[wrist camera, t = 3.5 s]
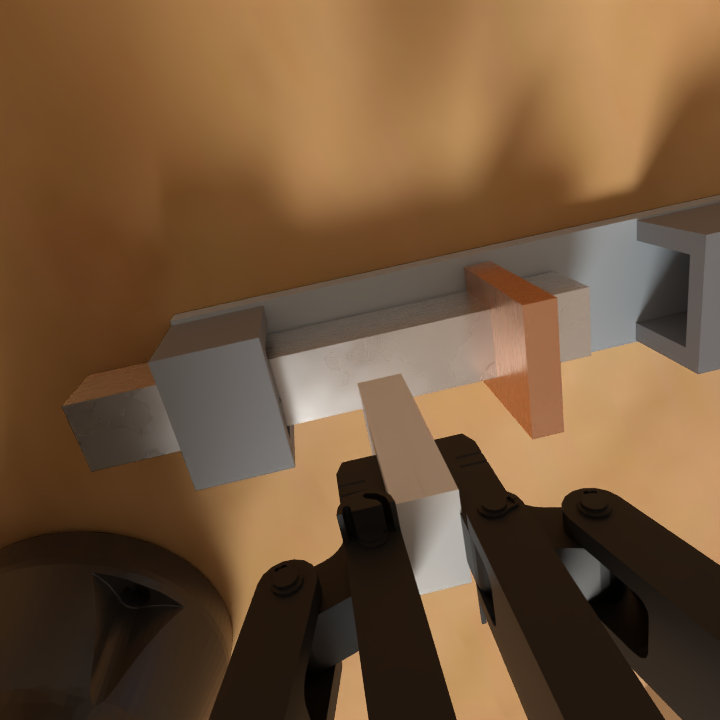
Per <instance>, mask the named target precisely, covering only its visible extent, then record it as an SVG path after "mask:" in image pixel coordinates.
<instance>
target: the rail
mask: <svg viewBox="0 0 720 720" xmlns="http://www.w3.org/2000/svg"><path fill="white" fill-rule="evenodd" d="M488 261H491V262H493V263H495V264H497V265H498V266H500V267H502V268H504V269H506V270H508V271H509V272H511V273H513V274H515V275H517V276H519V277H520V278H526V277H531V276H535V275H539V274H544V273H548V272H553V271H556V272H558V273H560V274H562V275H564V276H567V277H569V278H571V279H573V280H575V281H578V282H580V283H582V284H584V285H586V286H589V287H590V325H591V352H594V351H599V350H603V349H607V348H612V347H616V346H620V345H624V344H629V343H633V342H637V341H638V342H640V343H642V344H644V345H646V346H647V347H649V348H651V349H653V350H655V351H657V352H658V353H660V354H662V355H664V356H666V357H668V358H669V359H671V360H673V361H675V362H677V363H679V364H680V365H682V366H684V367H686V368H688V369H690V370H691V371H693V372H695V373H697V374H701V373H705V372H709V371H713V370H718V369H720V195H716V196H711V197H707V198H702V199H698V200H693V201H689V202H684V203H680V204H675V205H670V206H666V207H661V208H657V209H652V210H648V211H643V212H639V213H634V214H630V215H625V216H620V217H616V218H611V219H607V220H602V221H598V222H593V223H589V224H584V225H580V226H575V227H570V228H566V229H561V230H557V231H552V232H548V233H543V234H539V235H534V236H530V237H525V238H520V239H516V240H511V241H507V242H502V243H498V244H493V245H489V246H484V247H480V248H475V249H471V250H466V251H461V252H457V253H452V254H448V255H443V256H439V257H434V258H430V259H425V260H421V261H416V262H411V263H407V264H402V265H398V266H393V267H389V268H384V269H380V270H375V271H371V272H366V273H361V274H357V275H352V276H348V277H343V278H339V279H334V280H330V281H325V282H321V283H316V284H311V285H307V286H302V287H298V288H293V289H289V290H284V291H280V292H275V293H271V294H266V295H261V296H257V297H252V298H248V299H243V300H239V301H234V302H230V303H225V304H221V305H216V306H212V307H207V308H202V309H198V310H193V311H189V312H184V313H180V314H175V315H174V316H173V317H172V319H171V320H170V323H171V327H170V329H169V330H168V332H167V333H166V335H165V337H164V338H163V340H162V341H161V343H160V344H159V346H158V347H157V349H156V351H155V352H154V354H153V355H152V357H151V358H150V360H149V361H148V364H149V367H150V370H151V372H152V375H153V378H154V380H155V383H156V386H157V388H158V391H159V394H160V396H161V399H162V402H163V404H164V407H165V410H166V412H167V415H168V418H169V421H170V423H171V426H172V429H173V431H174V434H175V437H176V439H177V442H178V445H179V447H180V450H181V453H182V455H183V458H184V461H185V463H186V466H187V469H188V471H189V474H190V477H191V479H192V482H193V485H194V487H195V490H196V491H197V490H201V489H206V488H210V487H214V486H218V485H223V484H227V483H231V482H235V481H240V480H244V479H248V478H252V477H256V476H261V475H265V474H269V473H273V472H278V471H282V470H286V469H290V468H294V467H295V446H294V425H290V426H286V423H285V420H284V416H283V412H282V409H281V405H280V402H279V398H278V395H277V391H276V387H275V384H274V380H273V377H272V373H271V369H270V366H269V362H268V359H267V355H266V352H265V347H266V337H267V335H271V334H276V333H280V332H285V331H289V330H294V329H298V328H303V327H307V326H312V325H316V324H321V323H325V322H329V321H334V320H338V319H343V318H347V317H352V316H356V315H361V314H365V313H370V312H374V311H379V310H383V309H388V308H392V307H396V306H401V305H405V304H410V303H414V302H419V301H423V300H428V299H432V298H437V297H441V296H446V295H450V294H455V293H459V292H463V291H467V289H466V281H465V272H464V267H465V266H470V265H474V264H479V263H483V262H488Z"/></svg>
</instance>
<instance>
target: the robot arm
mask: <svg viewBox="0 0 720 720" xmlns="http://www.w3.org/2000/svg"><path fill="white" fill-rule="evenodd" d="M357 385H358V389H359V394H360V399H361V403H362V408H363V413H364V418H365V422H366V427H367V432H368V436H369V441H370V446H371V450H372V455H373V456H369V457H364V458H360V459H356V460H351V461H347V462H343V463H342V464H341V466H340V468H339V470H338V472H337V474H336V476H337V483H338V490H339V497H340V505H339V507H338V510H337V519H338V523H339V527H340V531H341V535H342V539H343V543H342V545H341V547H340V548H339V550H338V551H337V552H336V553H335V554H334V555H333V556H332V557H330V558H329V559H327V560H326V561H324V562H322V563H320V564H318V565H316V566H313V565H312V564H310V563H308V562H306V561H305V560H295V559H293V560H289V561H284V562H281V563H279V564H277V565H275V566H273V567H271V568H270V569H269V570H268V571H267V572H266V573H265V574H264V575H263V576H262V578H261V579H260V581H259V583H258V584H257V587H256V590H255V593H254V596H253V598H252V601H251V604H250V607H249V609H248V612H247V615H246V618H245V620H244V623H243V626H242V629H241V631H240V634H239V637H238V640H237V642H236V645H235V648H234V651H233V653H232V656H231V650H232V626H231V621H230V617H229V614H228V611H227V608H226V606H225V604H224V602H223V600H222V598H221V597H220V595H219V594H218V592H217V591H216V589H215V588H214V587H213V585H212V584H211V583H210V582H209V581H208V580H207V579H206V578H205V577H204V576H203V575H202V574H201V573H200V572H199V571H198V570H197V569H195V568H194V567H193V566H191V565H190V564H189V563H187V562H186V561H184V560H183V559H181V558H180V557H178V556H176V555H174V554H173V553H171V552H169V551H167V550H164V549H162V548H160V547H158V546H155V545H153V544H150V543H147V542H144V541H141V540H137V539H134V538H130V537H125V536H120V535H115V534H108V533H98V532H66V533H56V534H49V535H44V536H39V537H34V538H31V539H27V540H23V541H20V542H17V543H15V544H12V545H10V546H7V547H5V548H3V549H1V550H0V720H334V717H335V711H336V704H337V698H338V691H339V685H340V678H341V672H342V660H344V659H346V658H347V657H349V656H351V655H352V654H354V653H356V652H358V651H359V655H360V662H361V669H362V676H363V683H364V690H365V697H366V704H367V711H368V719H369V720H457V719H456V716H455V712H454V709H453V706H452V702H451V699H450V695H449V692H448V689H447V685H446V682H445V678H444V675H443V672H442V668H441V665H440V661H439V658H438V655H437V651H436V648H435V644H434V641H433V638H432V634H431V631H430V627H429V624H428V621H427V617H426V614H425V611H424V607H423V604H422V600H421V597H420V595H422V594H426V593H431V592H435V591H439V590H443V589H447V588H451V587H455V586H459V585H463V584H467V583H472V580H471V573H470V569H471V572H472V574H473V576H474V579H475V581H476V586H477V593H478V600H479V607H480V614H481V621H482V624H485V623H487V621H488V624H489V626H490V629H491V631H492V634H493V636H494V638H495V641H496V643H497V646H498V648H499V651H500V653H501V655H502V658H503V660H504V663H505V665H506V667H507V670H508V672H509V675H510V677H511V680H512V682H513V684H514V687H515V689H516V692H517V694H518V696H519V699H520V701H521V704H522V706H523V709H524V711H525V713H526V716H527V718H528V720H665V719H664V718H663V716H662V714H661V713H660V711H659V710H658V708H657V707H656V705H655V703H654V702H653V700H652V699H651V697H650V696H649V694H648V693H647V691H646V690H645V688H644V687H643V685H642V683H641V682H640V680H639V679H638V677H637V676H636V674H635V673H634V671H635V672H636V673H637V674H638V675H639V676H640V677H641V678H642V679H643V680H644V681H645V682H646V683H647V684H648V685H649V686H650V687H651V688H652V689H653V690H654V691H655V692H656V693H657V694H658V695H659V696H660V697H661V698H662V699H663V700H664V701H665V702H666V703H667V704H668V706H670V708H671V709H672V710H673V711H674V712H675V713H676V714H677V715H678V716H679V717H680V718H681V719H682V720H720V565H719V564H717V563H716V562H714V561H713V560H711V559H710V558H708V557H707V556H705V555H704V554H703V553H701V552H700V551H698V550H697V549H695V548H694V547H692V546H691V545H689V544H688V543H686V542H685V541H684V540H682V539H681V538H679V537H678V536H676V535H675V534H673V533H672V532H670V531H669V530H667V529H666V528H664V527H663V526H662V525H660V524H659V523H657V522H656V521H654V520H653V519H651V518H650V517H648V516H647V515H645V514H644V513H643V512H641V511H640V510H638V509H637V508H635V507H634V506H632V505H631V504H629V503H628V502H626V501H625V500H623V499H622V498H621V497H619V496H617V495H615V494H613V493H611V492H609V491H606V490H602V489H597V488H583V489H579V490H575V491H572V492H571V493H569V494H568V495H566V496H565V498H564V500H563V502H562V507H533V506H528V505H525V504H524V503H523V501H522V500H521V499H520V498H519V497H518V496H516V495H514V494H512V493H510V492H507V491H506V490H505V488H504V487H503V485H502V484H501V482H500V480H499V479H498V477H497V476H496V474H495V473H494V471H493V469H492V468H491V466H490V465H489V463H488V462H487V460H486V458H485V457H484V455H483V453H481V450H480V449H479V447H478V446H477V444H476V442H475V441H474V440H472V439H470V438H469V437H467V436H465V435H464V434H458V435H453V436H449V437H445V438H441V439H436V440H434V439H433V437H432V435H431V433H430V431H429V429H428V427H427V425H426V423H425V421H424V419H423V416H422V414H421V412H420V410H419V408H418V406H417V404H416V402H415V400H414V398H413V396H412V394H411V392H410V390H409V388H408V386H407V384H406V382H405V380H404V378H403V376H402V374H401V373H400V374H396V375H391V376H387V377H383V378H378V379H374V380H369V381H365V382H361V383H357ZM486 619H487V621H486ZM632 669H633V670H634V671H633V670H632Z"/></svg>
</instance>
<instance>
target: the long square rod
mask: <svg viewBox="0 0 720 720" xmlns="http://www.w3.org/2000/svg"><path fill="white" fill-rule="evenodd" d="M464 272H465V281H466V289H467V291H463V292H459V293H455V294H450V295H446V296H441V297H437V298H432V299H428V300H423V301H419V302H414V303H410V304H405V305H401V306H396V307H392V308H388V309H383V310H379V311H374V312H370V313H365V314H361V315H356V316H352V317H347V318H343V319H338V320H334V321H329V322H325V323H321V324H316V325H312V326H307V327H303V328H298V329H294V330H289V331H285V332H280V333H276V334H271V335H267V337H266V347H265V352H266V355H267V359H268V362H269V366H270V369H271V373H272V377H273V380H274V384H275V387H276V391H277V395H278V398H279V402H280V405H281V409H282V412H283V416H284V420H285V423H286V426H290V425H294V424H299V423H303V422H307V421H311V420H316V419H320V418H324V417H329V416H333V415H337V414H342V413H346V412H350V411H354V410H359V409H363V408H362V403H361V399H360V394H359V389H358V385H357V383H361V382H365V381H369V380H374V379H378V378H383V377H387V376H391V375H396V374H400V373H401V374H402V376H403V378H404V380H405V382H406V384H407V386H408V388H409V390H410V392H411V394H412V396H413V397H415V396H419V395H423V394H428V393H432V392H436V391H440V390H445V389H449V388H453V387H458V386H462V385H466V384H471V383H475V382H479V381H483V382H484V383H485V384H486V385H487V386H488V387H489V389H490V390H491V391H492V392H493V393H494V395H495V396H496V397H497V398H498V399H499V400H500V402H501V403H502V404H503V405H504V406H505V407H506V409H507V410H508V411H509V412H510V413H511V414H512V416H513V417H514V418H515V419H516V420H517V421H518V423H519V424H520V425H521V426H522V427H523V429H524V430H525V431H526V432H527V433H528V434H529V436H530V437H531V438H532V439H536V438H540V437H545V436H549V435H553V434H557V433H561V432H564V422H563V402H562V382H561V362H565V361H569V360H574V359H578V358H582V357H587V356H591V325H590V287H589V286H586V285H584V284H582V283H580V282H578V281H575V280H573V279H571V278H569V277H567V276H564V275H562V274H560V273H558V272H556V271H553V272H548V273H544V274H539V275H535V276H531V277H526V278H520V277H519V276H517V275H515V274H513V273H511V272H509V271H508V270H506V269H504V268H502V267H500V266H498V265H497V264H495V263H493V262H491V261H488V262H483V263H479V264H474V265H470V266H465V267H464ZM62 409H63V411H64V413H65V415H66V417H67V420H68V422H69V424H70V426H71V428H72V431H73V433H74V435H75V437H76V439H77V441H78V444H79V446H80V448H81V450H82V452H83V455H84V457H85V459H86V461H87V463H88V465H89V468H90V470H91V472H92V471H97V470H101V469H105V468H109V467H114V466H118V465H122V464H127V463H131V462H135V461H140V460H144V459H148V458H152V457H157V456H161V455H165V454H170V453H174V452H178V451H181V450H180V447H179V445H178V442H177V439H176V437H175V434H174V431H173V429H172V426H171V423H170V421H169V418H168V415H167V412H166V410H165V407H164V404H163V402H162V399H161V396H160V394H159V391H158V388H157V386H156V383H155V380H154V378H153V375H152V372H151V370H150V367H149V364H148V362H146V363H142V364H137V365H133V366H128V367H124V368H120V369H115V370H111V371H106V372H102V373H97V374H93V375H88V376H87V377H86V379H85V380H84V381H83V382H82V383H81V384H80V386H79V387H78V388H77V389H76V390H75V391H74V392H73V394H72V395H71V396H70V397H69V398H68V399H67V400H66V402H65V403H64V404H63V405H62Z"/></svg>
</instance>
